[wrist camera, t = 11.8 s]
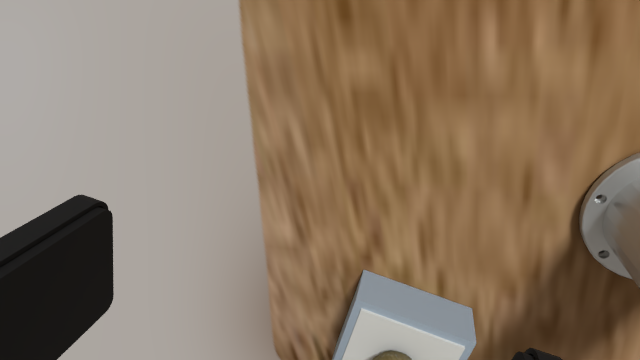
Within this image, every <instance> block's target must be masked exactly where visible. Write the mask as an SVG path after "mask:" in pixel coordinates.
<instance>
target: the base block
mask: <svg viewBox="0 0 640 360" xmlns="http://www.w3.org/2000/svg"><path fill="white" fill-rule="evenodd" d="M475 345H476V336H475V328H474V320H473V313H472V308H469V307H466V306H464V305H461V304H458V303H455V302H453V301H450V300H447V299H444V298H441V297H439V296H436V295H433V294H430V293H427V292H425V291H422V290H419V289H416V288H414V287H411V286H408V285H405V284H402V283H400V282H397V281H394V280H391V279H388V278H386V277H383V276H380V275H377V274H375V273H372V272H369V271H366V270H363V273H362V276H361V278H360V281H359V284H358V286H357V289H356V292H355V295H354V297H353V300H352V303H351V306H350V308H349V311H348V314H347V316H346V319H345V322H344V325H343V327H342V330H341V333H340V336H339V338H338V341H337V344H336V347H335V351H334V354H333V358H332V360H372V359H373V358H374V357H376V356H378V355H380V354H382V353H383V352H385V351H390V350H394V351H399V352H402V353H404V354H406V355H408V356H409V357H410V358H411V359H412V360H467V359H468V357H469V355H470V354H471V352H472V350H473V349H474V347H475Z"/></svg>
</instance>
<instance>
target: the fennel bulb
mask: <svg viewBox="0 0 640 360" xmlns="http://www.w3.org/2000/svg"><path fill="white" fill-rule="evenodd" d="M372 360H412V359H411V358H410V357H409V356H408V355H406V354H404V353H402V352H399V351H394V350H390V351H385V352H383V353H382V354H380V355H378V356H376V357H374V358H373V359H372Z"/></svg>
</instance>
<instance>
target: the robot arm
mask: <svg viewBox="0 0 640 360" xmlns="http://www.w3.org/2000/svg"><path fill="white" fill-rule="evenodd" d="M598 195H600V196H599V197H597V196H598ZM112 223H113V220H112V213H111V211H109V210H108V206H107V204H106V203H104V202H102V201H99V200H96V199H94V198H91V197H87V196H85V195H77V196H74V197H73V198H71V199H69V200H67V201H66V202H64V203H62V204H60V205H58V206H57V207H55V208H53V209H51V210H50V211H48V212H46V213H44V214H42V215H41V216H39V217H37V218H35V219H33V220H31V221H30V222H28V223H26V224H24V225H23V226H21V227H19V228H17V229H15V230H14V231H12V232H10V233H8V234H7V235H5V236H3V237H1V238H0V360H57V359H58V358H59V357H60V356H61V355H62V354H63V353H64V352H65V351H66V350H67V349H68V348H69V347H70V346H71V345H72V344H73V343H74V342H75V341H76V340H78V338H80V336H82V335H83V334H84V333H85V332H86V331H87V330H88V329H89V328H90V327H91V326H92V325H93V324H94V323H95V322H96V321H97V320H98V319H99V318H100V317H101V316H102V315H103V314H104V313H105V312H106V311H107V310H108V309H109V307H110V305H111V303H112V300H113V225H112ZM579 226H580V232H581V235H582V238H583V241H584V243H585V245H586V246H587V248H588V250H589V251H590V253H591V254H592V255H593V257H594V258H595V259H596V260H597V261H598V262H599V263H600V264H602V265H603V266H604V267H605V268H607V269H608V270H610V271H612V272H614V273H616V274H618V275H620V276H623V277H626V278H629V279H632V280H634V281H635V283H636V284H637V286H638V287H639V288H640V153H637V154H634V155H632V156H630V157H628V158H626V159H624V160H622V161H620V162H618V163H617V164H616V165H614V166H613V167H611V168H610V169H609V170H607V171H606V172H605V173H604V174H603V175H602V176H601V177H600V178H599V179H598V180H597V181H596V182H595V183H594V184H593V185H592V187H591V188H590V190H589V191H588V193H587V194H586V196H585V199H584V201H583V203H582V206H581V210H580V216H579ZM512 360H562V359H561V358H560V357H557V356H554V355H551V354H548V353H545V352H542V351H539V350H536V349H533V348H529V349H527V350H526V351H525V353H523V352H517V353H516V354H515V355H514V357H513V359H512Z"/></svg>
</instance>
